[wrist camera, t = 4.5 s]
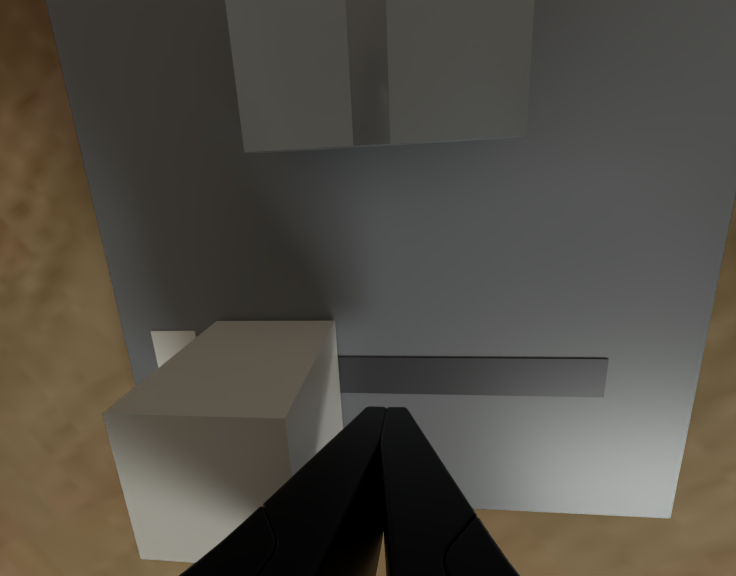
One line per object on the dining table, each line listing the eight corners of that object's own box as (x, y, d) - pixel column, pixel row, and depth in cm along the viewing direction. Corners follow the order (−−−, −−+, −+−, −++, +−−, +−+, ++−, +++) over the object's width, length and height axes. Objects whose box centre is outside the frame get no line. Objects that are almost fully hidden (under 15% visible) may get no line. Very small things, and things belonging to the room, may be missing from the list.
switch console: (801, -697, 7) (1046, -1244, 4) (624, 453, 13) (677, 527, 11) (24, -491, 8) (-156, -785, 6) (201, 439, 15) (154, 500, 12)
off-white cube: (334, 320, 10) (284, 418, 6) (343, 427, 11) (303, 570, 7) (216, 320, 10) (102, 413, 7) (233, 424, 11) (140, 559, 8)
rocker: (535, -80, 7) (541, -124, 6) (523, 137, 8) (526, 134, 6) (254, -24, 8) (215, -52, 7) (272, 152, 9) (241, 152, 8)
